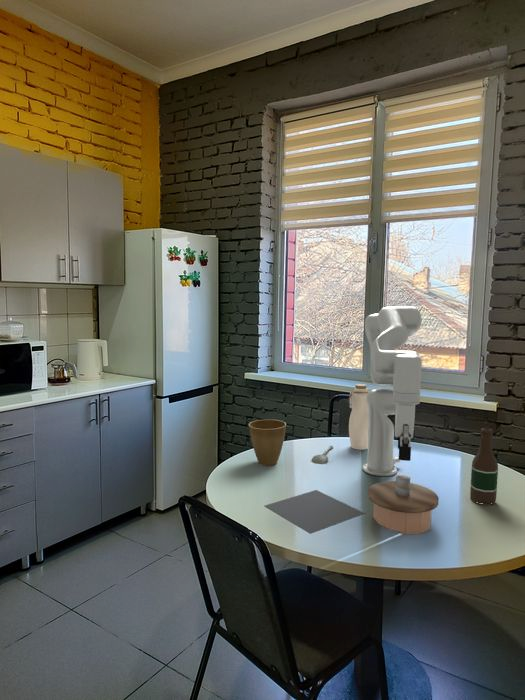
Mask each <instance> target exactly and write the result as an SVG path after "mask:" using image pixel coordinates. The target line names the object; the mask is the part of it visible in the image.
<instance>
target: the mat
mask: <svg viewBox="0 0 525 700" xmlns="http://www.w3.org/2000/svg"><path fill="white" fill-rule="evenodd" d="M264 507H265V508H267V509H268V510H270V511H271V512H274V513H275V514H277V515H278V516H280V517H282V518H283V519H284V520H287V522H290V523H292V524H293V525H295V526H296V527H299V528H300V529H302V530H303V531H305V532H307V533H309V534H310V535H311V534H313V533H317V532H319V531H321V530H325V529H326V528H329V527H332V526H335V525H338V524H341V523H343V522H346V521H348V520H351V519H353V518H357V517H359V516H362V515H364V514H365V515H366V512H364V511H361V510H359V509H358V508H355V507H354V506H351V505H349V504H346V503H344V502H343V501H340V500H338V499H337V498H334V497H332V496H330V495H328V494H325V493H324V492H321V491H320V490H317V489H314V490H311V491H307V492H304V493H301V494H298V495H295V496H292V497H289V498H285V499H282V500H278V501H276V502H272V503H268V504H265V505H264Z"/></svg>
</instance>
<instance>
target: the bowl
mask: <svg viewBox="0 0 525 700" xmlns="http://www.w3.org/2000/svg"><path fill="white" fill-rule="evenodd" d="M432 511H433V510H431V511H427V512H422V513H404V512H397V511H392V510H388V509H385V508H382V507H380V506H378V505H376V504H374V503H373V514H372V515H373V519H374V520H375V521H376V523H377V524H378V525H380V526H382V527H384V528H386V529H388V530H391V531H395V532H399V534H403V535H420V534H423V533H425V532H427V531H430V529H431V526H430V525H432Z"/></svg>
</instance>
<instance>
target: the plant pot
mask: <svg viewBox="0 0 525 700" xmlns="http://www.w3.org/2000/svg"><path fill="white" fill-rule="evenodd" d="M286 427H287V423H286V422H285V421H283V420H279V419H259V420H254V421H250V422H249V423H248V429H249V435H250V440H251V444H252V448H253V450H254V454H255V457H256V459H257V462H258V464H259V465H261V466H264V465H265V467H267V466H269V467H270V466H275V465H277V464H278V462H279V458H280V455H281V452H282V448H283V444H284V440H285V435H286V429H287V428H286Z"/></svg>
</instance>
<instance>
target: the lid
mask: <svg viewBox="0 0 525 700" xmlns="http://www.w3.org/2000/svg"><path fill="white" fill-rule="evenodd" d="M367 498H368V499H369V501H370V502H372V504H373V505H374V504H376V505H378V506H380V507H382V508H385V509H388V510H392V511H397V512H404V513H422V512H427V511H431V510H432V511H433V510H435V509H436V508H437V507H438V506H439V503H440V502H439V496H438V494H437V493H436V492H435V491H433V490H432V489H430V488H428V487H426V486H423V485H420V484H417V483H412V482H411V477H410V476H407V475H405V474H404V475H403V474H401V475H396V476H395V481H393V480H390V481H380V482H377V483H374V484H372V485H370V486H369V487H368V489H367Z"/></svg>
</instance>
